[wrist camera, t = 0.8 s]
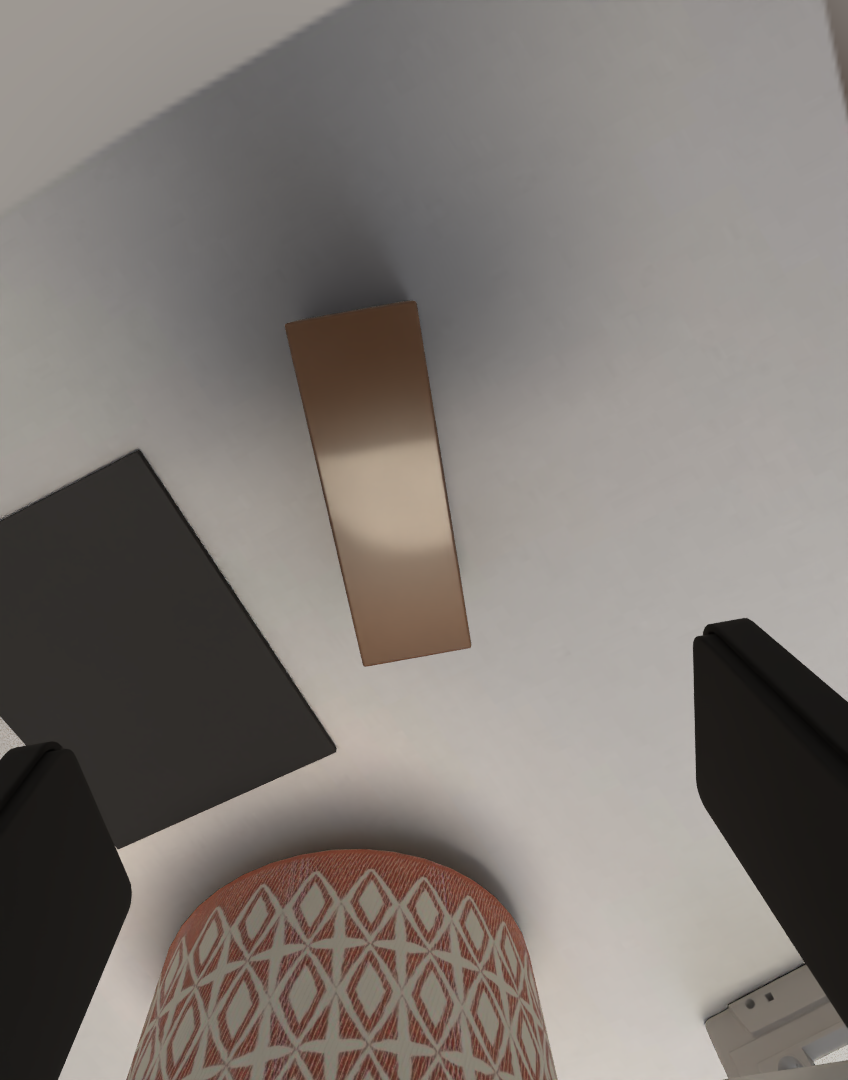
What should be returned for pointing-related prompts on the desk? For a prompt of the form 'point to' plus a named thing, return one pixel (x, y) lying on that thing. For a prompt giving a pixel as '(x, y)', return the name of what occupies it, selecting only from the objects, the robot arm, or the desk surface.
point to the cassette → (777, 1027)
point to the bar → (382, 478)
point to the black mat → (140, 656)
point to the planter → (347, 979)
